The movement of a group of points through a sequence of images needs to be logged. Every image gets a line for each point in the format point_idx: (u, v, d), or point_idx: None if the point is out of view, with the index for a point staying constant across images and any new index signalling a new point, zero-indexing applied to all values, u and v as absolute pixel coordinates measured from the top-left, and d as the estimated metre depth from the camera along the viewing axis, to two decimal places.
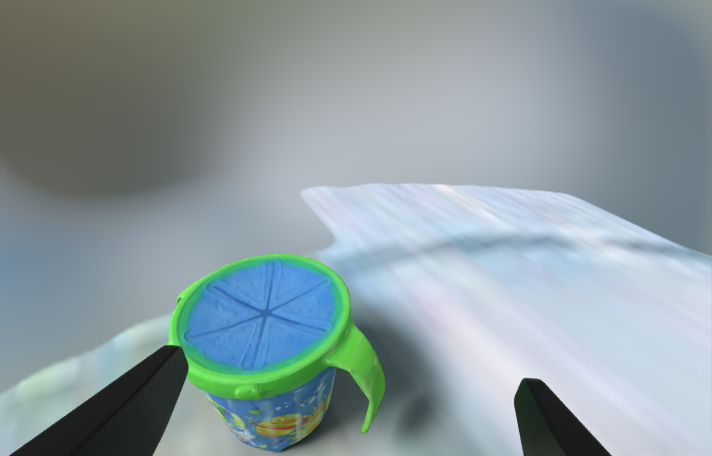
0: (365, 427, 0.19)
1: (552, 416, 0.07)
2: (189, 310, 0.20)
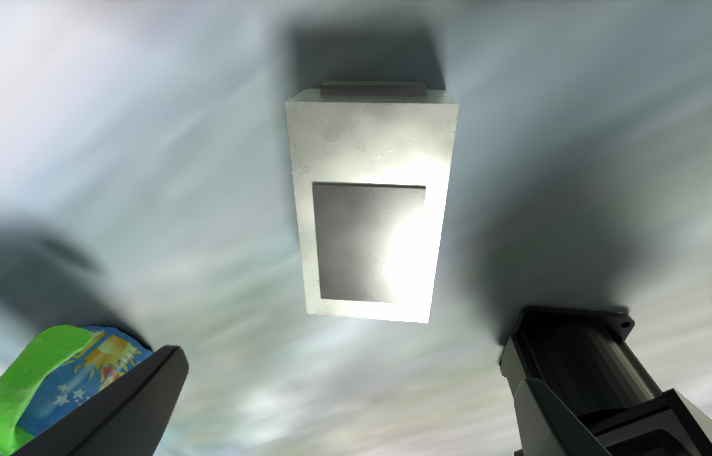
0: (82, 348, 0.20)
1: (552, 416, 0.07)
2: None
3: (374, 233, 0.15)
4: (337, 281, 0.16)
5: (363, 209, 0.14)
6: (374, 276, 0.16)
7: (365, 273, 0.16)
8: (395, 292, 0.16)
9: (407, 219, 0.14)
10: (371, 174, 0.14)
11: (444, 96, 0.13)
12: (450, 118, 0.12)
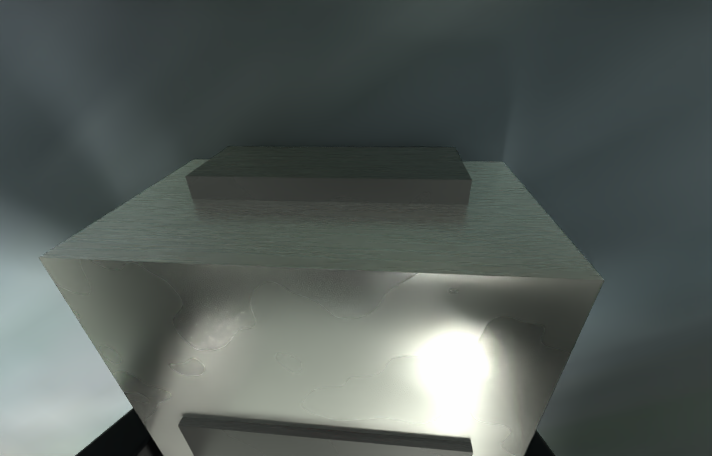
0: None
1: None
2: None
3: None
4: None
5: None
6: None
7: None
8: None
9: None
10: (324, 412, 0.05)
11: (518, 205, 0.05)
12: (564, 314, 0.04)
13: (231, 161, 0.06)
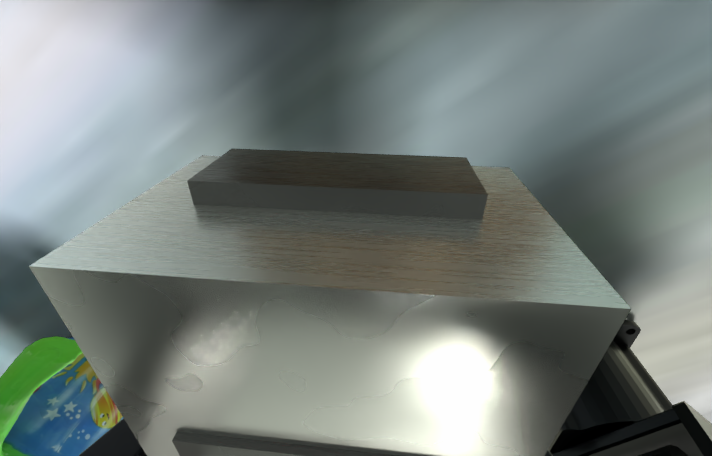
0: (72, 361, 0.20)
1: None
2: None
3: None
4: None
5: None
6: None
7: None
8: None
9: None
10: (327, 430, 0.05)
11: (534, 222, 0.05)
12: (585, 342, 0.04)
13: (235, 165, 0.06)
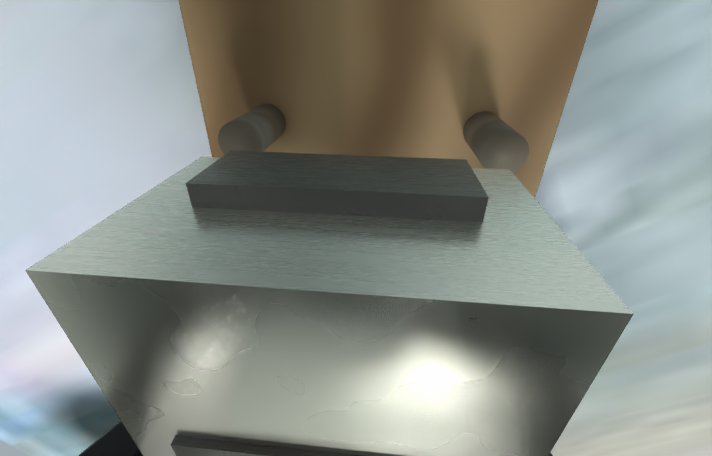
0: None
1: None
2: None
3: None
4: None
5: None
6: None
7: None
8: None
9: None
10: (326, 435, 0.05)
11: (535, 225, 0.05)
12: (587, 346, 0.04)
13: (234, 167, 0.05)
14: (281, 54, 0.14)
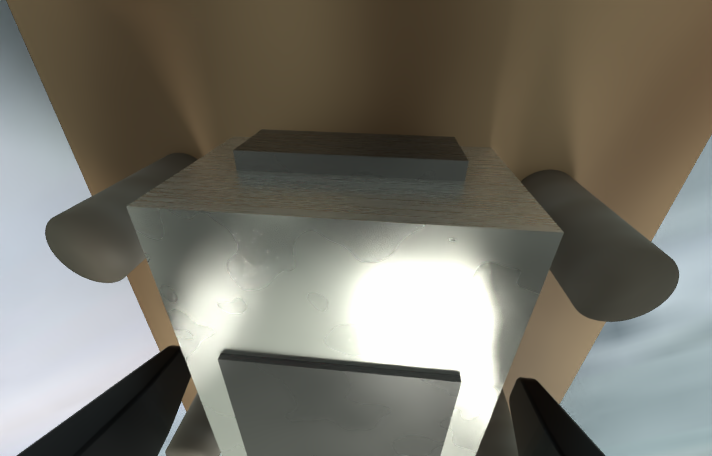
0: None
1: (546, 415, 0.07)
2: None
3: (351, 434, 0.08)
4: None
5: (327, 401, 0.07)
6: None
7: None
8: None
9: (417, 421, 0.07)
10: (341, 347, 0.06)
11: (505, 183, 0.06)
12: (534, 260, 0.05)
13: (268, 140, 0.07)
14: (192, 72, 0.08)
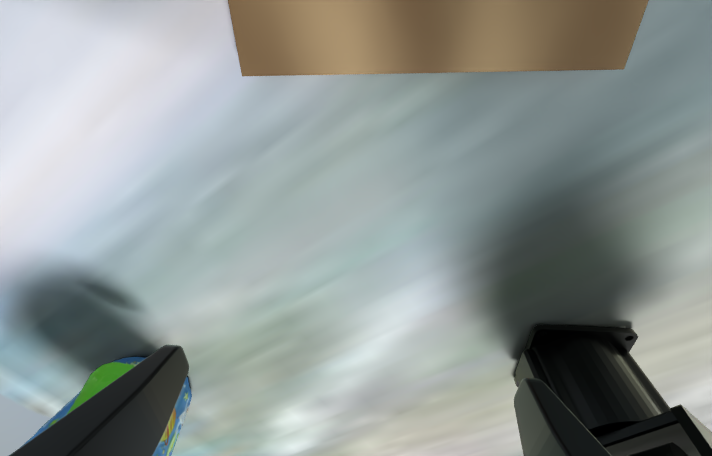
0: None
1: (552, 416, 0.07)
2: None
3: None
4: None
5: None
6: None
7: None
8: None
9: None
10: None
11: None
12: None
13: None
14: None
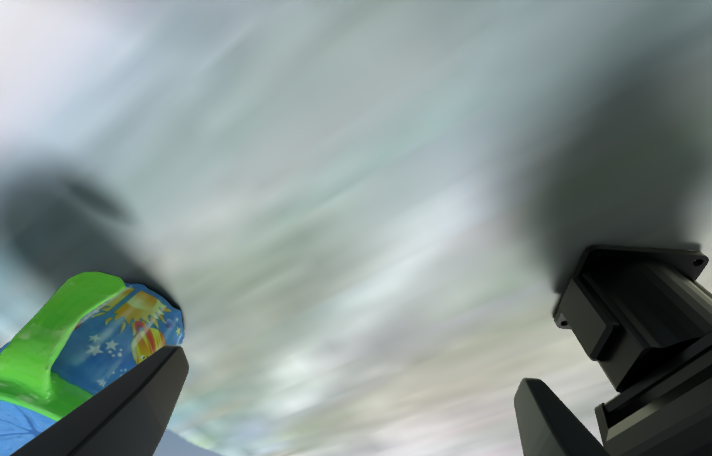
0: (116, 294, 0.19)
1: (552, 416, 0.07)
2: None
3: None
4: None
5: None
6: None
7: None
8: None
9: None
10: None
11: None
12: None
13: None
14: None
